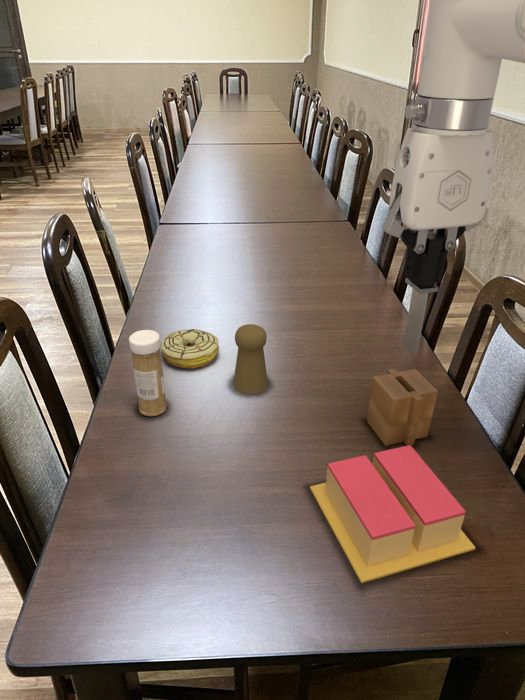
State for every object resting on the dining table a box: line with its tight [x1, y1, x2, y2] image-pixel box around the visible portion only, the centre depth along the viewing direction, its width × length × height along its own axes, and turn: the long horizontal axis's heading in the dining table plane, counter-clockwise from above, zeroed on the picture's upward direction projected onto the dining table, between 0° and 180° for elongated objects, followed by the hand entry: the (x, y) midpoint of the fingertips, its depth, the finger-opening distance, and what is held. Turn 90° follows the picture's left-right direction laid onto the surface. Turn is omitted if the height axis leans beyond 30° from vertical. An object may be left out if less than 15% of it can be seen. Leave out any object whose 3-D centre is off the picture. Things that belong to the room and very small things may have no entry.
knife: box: [402, 230, 444, 357], centre depth 66 cm, size 2×4×16 cm, turn 17°
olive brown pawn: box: [232, 323, 269, 396], centre depth 89 cm, size 6×6×11 cm
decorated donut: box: [160, 328, 220, 369], centre depth 99 cm, size 10×11×4 cm
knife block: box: [366, 368, 438, 446], centre depth 80 cm, size 7×8×8 cm
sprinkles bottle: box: [128, 329, 168, 417], centre depth 83 cm, size 5×5×14 cm
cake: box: [309, 445, 476, 584], centre depth 66 cm, size 15×15×5 cm
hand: (422, 278), depth 65 cm, fingers closed on knife, 1 cm apart
